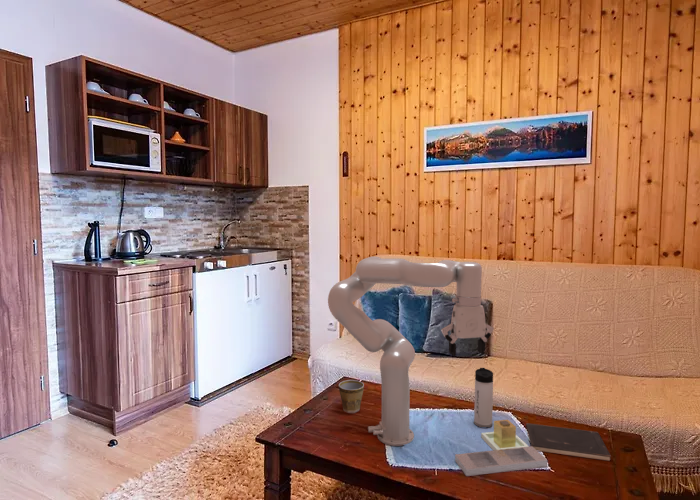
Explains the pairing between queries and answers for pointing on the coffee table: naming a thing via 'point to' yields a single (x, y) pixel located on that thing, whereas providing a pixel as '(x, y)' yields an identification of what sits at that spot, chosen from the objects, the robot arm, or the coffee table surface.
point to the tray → (489, 439)
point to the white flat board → (500, 460)
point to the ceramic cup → (351, 395)
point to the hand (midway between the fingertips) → (466, 353)
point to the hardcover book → (567, 441)
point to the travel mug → (483, 397)
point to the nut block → (504, 433)
